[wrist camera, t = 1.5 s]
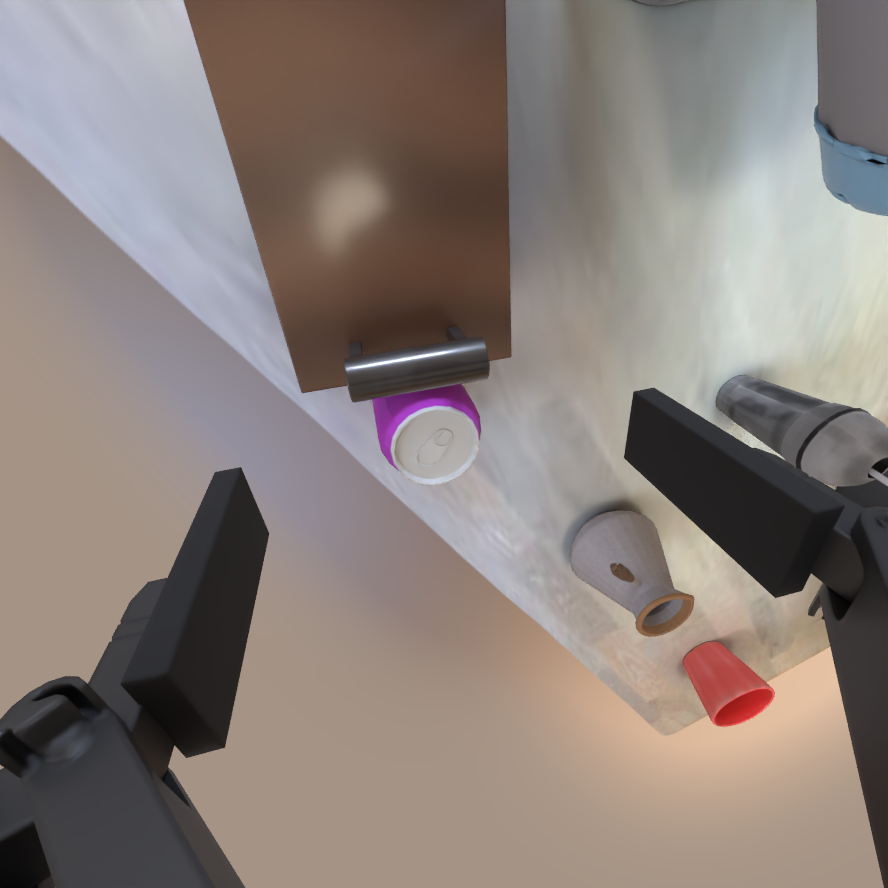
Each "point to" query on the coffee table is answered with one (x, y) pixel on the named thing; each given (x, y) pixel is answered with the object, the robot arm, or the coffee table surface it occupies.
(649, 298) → the coffee table surface
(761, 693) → the flower pot
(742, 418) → the beverage cup
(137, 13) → the coffee table surface
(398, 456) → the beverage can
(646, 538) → the coffee pot
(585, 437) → the coffee table surface
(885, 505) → the pen holder
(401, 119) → the lid
